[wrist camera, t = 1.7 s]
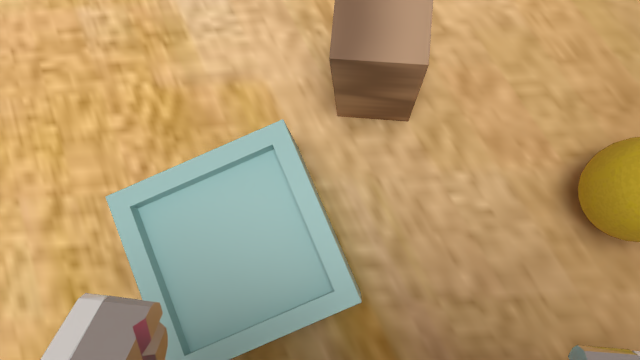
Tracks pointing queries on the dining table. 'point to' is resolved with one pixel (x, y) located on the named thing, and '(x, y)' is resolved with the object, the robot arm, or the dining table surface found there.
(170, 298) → the teal box
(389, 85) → the walnut block
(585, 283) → the dining table surface
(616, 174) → the lemon
